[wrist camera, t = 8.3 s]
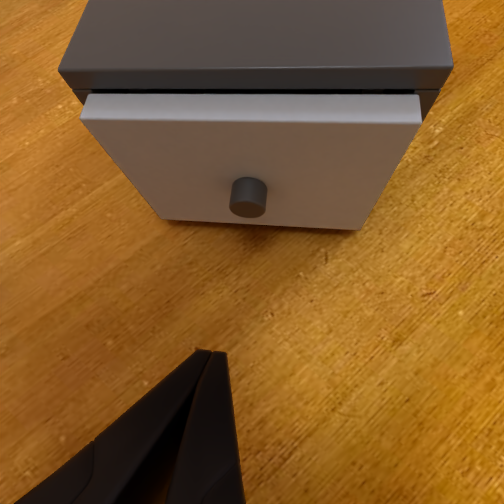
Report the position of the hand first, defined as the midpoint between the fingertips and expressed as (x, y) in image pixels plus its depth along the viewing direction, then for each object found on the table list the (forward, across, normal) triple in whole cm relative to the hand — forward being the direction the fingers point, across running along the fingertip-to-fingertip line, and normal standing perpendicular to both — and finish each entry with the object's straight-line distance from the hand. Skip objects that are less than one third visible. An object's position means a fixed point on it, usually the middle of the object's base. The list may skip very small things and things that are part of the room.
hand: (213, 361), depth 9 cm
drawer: (+14, 0, -5) cm, 15 cm away
